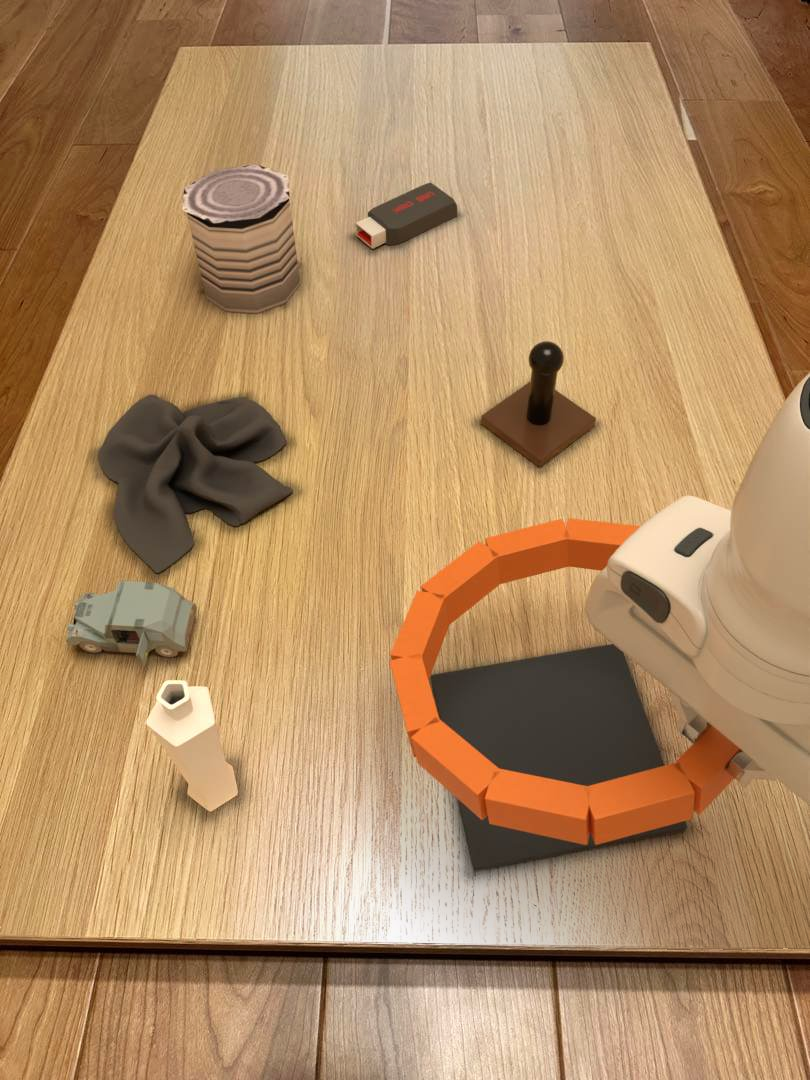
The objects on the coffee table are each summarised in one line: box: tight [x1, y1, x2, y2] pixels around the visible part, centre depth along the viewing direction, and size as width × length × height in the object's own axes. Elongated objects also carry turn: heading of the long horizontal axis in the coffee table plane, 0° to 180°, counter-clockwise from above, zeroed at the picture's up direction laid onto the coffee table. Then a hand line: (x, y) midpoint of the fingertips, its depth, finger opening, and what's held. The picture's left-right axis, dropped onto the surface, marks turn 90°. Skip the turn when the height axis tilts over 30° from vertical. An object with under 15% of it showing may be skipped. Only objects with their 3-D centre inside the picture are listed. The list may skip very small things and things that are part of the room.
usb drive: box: [354, 182, 458, 249], centre depth 116 cm, size 5×12×3 cm, turn 127°
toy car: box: [65, 580, 198, 668], centre depth 81 cm, size 6×10×5 cm, turn 86°
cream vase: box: [145, 679, 239, 812], centre depth 69 cm, size 5×4×15 cm
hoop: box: [389, 517, 741, 845], centre depth 65 cm, size 24×24×3 cm
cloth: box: [97, 394, 293, 574], centre depth 92 cm, size 22×19×6 cm
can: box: [182, 164, 301, 315], centre depth 107 cm, size 11×11×12 cm
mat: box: [430, 643, 688, 872], centre depth 76 cm, size 16×16×1 cm
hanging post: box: [480, 340, 597, 468], centre depth 93 cm, size 8×8×10 cm
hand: (716, 749), depth 58 cm, fingers closed on hoop, 2 cm apart
